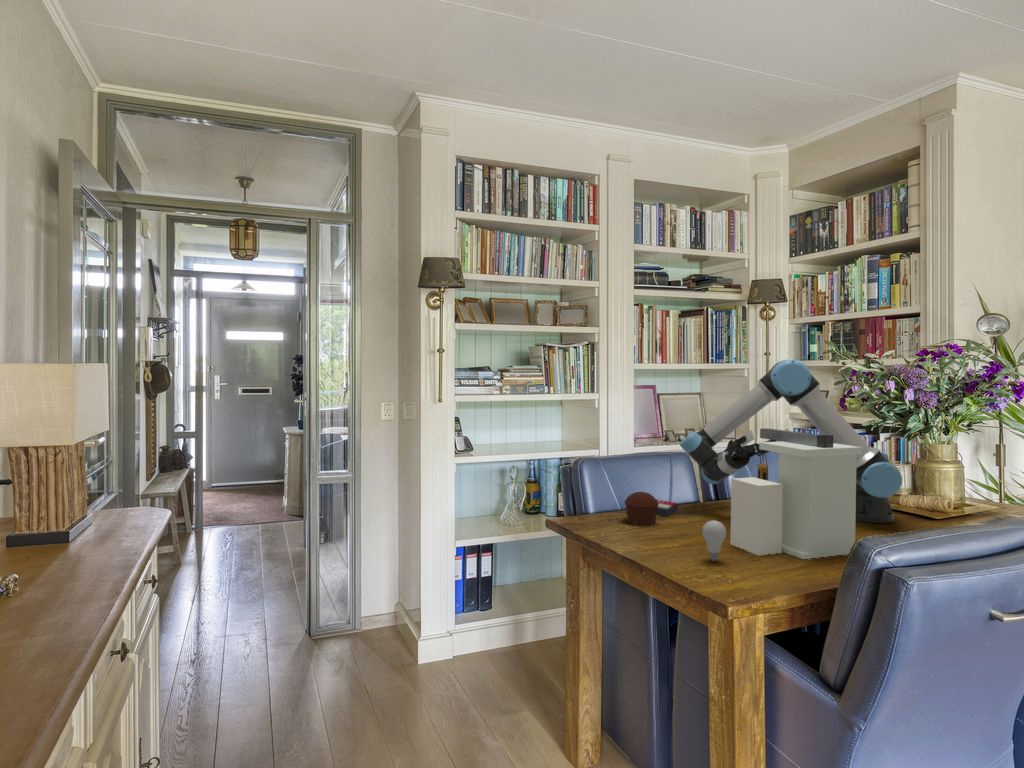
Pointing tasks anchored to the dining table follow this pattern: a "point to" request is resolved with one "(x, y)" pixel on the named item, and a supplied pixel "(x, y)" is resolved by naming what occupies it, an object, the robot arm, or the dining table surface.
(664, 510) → the red and black box
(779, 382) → the robot arm
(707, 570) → the dining table surface
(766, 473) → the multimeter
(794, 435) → the rod
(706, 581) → the dining table surface
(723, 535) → the lightbulb
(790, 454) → the stand
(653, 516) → the muffin
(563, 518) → the dining table surface
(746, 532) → the post
